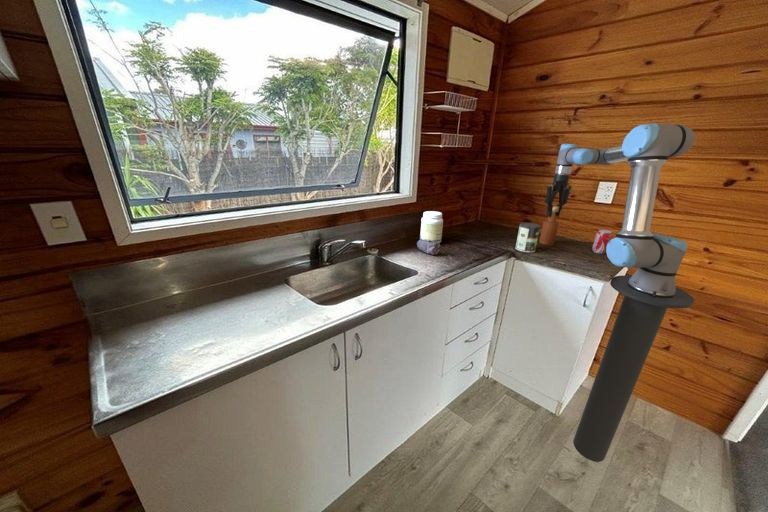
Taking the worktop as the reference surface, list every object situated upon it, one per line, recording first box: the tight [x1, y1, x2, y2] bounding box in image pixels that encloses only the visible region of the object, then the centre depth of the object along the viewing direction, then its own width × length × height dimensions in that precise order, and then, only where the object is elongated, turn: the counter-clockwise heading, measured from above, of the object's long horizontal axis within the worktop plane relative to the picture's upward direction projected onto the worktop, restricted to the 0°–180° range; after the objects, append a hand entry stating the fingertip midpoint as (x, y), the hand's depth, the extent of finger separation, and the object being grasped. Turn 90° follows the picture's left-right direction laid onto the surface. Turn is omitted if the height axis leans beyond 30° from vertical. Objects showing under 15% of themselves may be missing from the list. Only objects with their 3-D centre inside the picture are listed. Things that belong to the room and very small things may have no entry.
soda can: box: [591, 229, 613, 255], centre depth 163 cm, size 7×7×12 cm
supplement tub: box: [419, 210, 444, 244], centre depth 172 cm, size 12×12×17 cm
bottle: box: [538, 215, 560, 246], centre depth 176 cm, size 8×8×17 cm
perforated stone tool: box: [416, 239, 441, 256], centre depth 157 cm, size 15×5×7 cm, turn 36°
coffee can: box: [514, 221, 542, 254], centre depth 164 cm, size 10×10×14 cm
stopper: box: [551, 204, 559, 215], centre depth 172 cm, size 5×5×7 cm
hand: (552, 215), depth 173 cm, fingers closed on stopper, 5 cm apart
